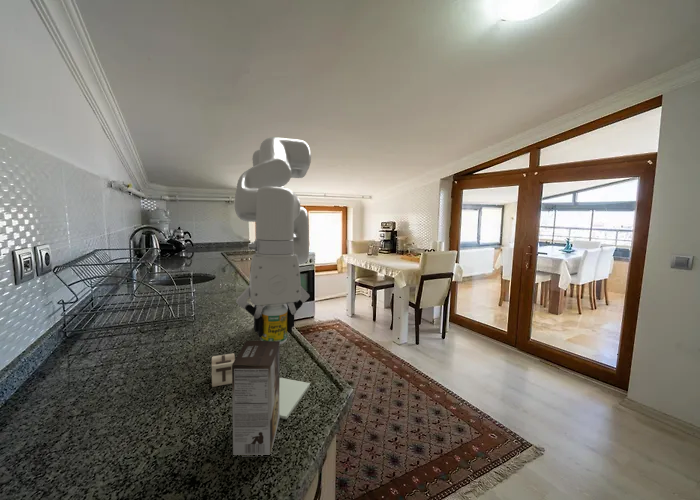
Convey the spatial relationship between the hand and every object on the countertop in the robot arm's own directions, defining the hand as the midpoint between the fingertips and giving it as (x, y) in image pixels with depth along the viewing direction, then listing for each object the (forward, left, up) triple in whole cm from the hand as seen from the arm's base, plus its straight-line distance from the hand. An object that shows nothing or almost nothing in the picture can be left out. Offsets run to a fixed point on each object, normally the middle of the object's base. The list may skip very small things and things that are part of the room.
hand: (274, 331), depth 63 cm
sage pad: (0, 0, -15) cm, 15 cm away
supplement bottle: (0, 0, -2) cm, 2 cm away
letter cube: (-2, -15, -15) cm, 21 cm away
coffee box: (+11, +3, -15) cm, 19 cm away
